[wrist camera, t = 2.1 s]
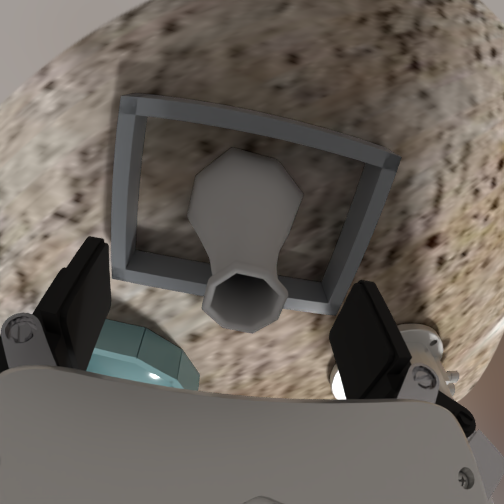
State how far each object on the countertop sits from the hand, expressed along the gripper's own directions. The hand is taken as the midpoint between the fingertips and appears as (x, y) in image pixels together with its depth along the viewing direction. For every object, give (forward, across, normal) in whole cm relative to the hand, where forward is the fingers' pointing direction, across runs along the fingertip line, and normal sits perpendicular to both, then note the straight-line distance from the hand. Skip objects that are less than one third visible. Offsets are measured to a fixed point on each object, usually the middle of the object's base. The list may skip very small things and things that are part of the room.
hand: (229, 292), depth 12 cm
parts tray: (+10, -1, +1) cm, 10 cm away
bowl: (+10, +7, +21) cm, 24 cm away
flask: (+10, -1, +1) cm, 10 cm away
